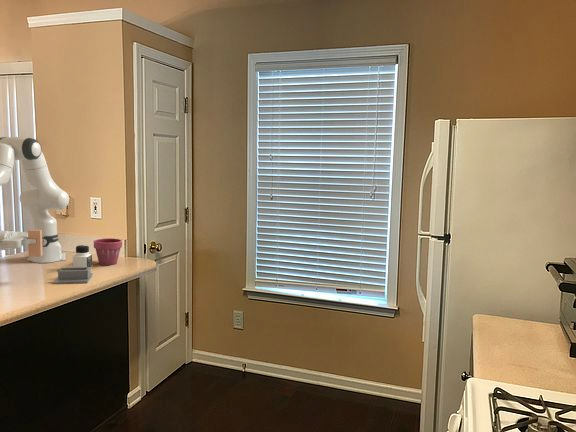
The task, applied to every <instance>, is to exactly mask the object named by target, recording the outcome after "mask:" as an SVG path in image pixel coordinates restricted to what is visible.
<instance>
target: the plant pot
mask: <svg viewBox="0 0 576 432" xmlns="http://www.w3.org/2000/svg"><path fill="white" fill-rule="evenodd" d="M122 247H123V239H120V238H109V237H108V238H97V239H95V240H93V249H94V250H95V253H96V256H97V261H98V264H99V265H101V266H115V265H117V263H118V261H119V260H118V259H119V255H120V251H121V248H122Z"/></svg>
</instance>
